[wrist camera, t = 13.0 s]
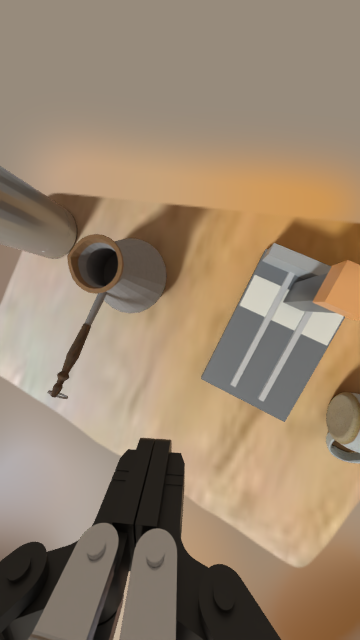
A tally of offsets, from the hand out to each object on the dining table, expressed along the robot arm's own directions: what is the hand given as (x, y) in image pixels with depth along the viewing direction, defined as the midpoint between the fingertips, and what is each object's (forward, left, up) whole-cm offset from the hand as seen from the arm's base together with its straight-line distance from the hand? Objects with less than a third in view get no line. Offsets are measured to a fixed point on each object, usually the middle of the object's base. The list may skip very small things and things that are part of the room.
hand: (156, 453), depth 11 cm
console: (+12, +2, -25) cm, 28 cm away
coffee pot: (-11, +8, -25) cm, 29 cm away
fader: (+15, +8, -24) cm, 29 cm away
